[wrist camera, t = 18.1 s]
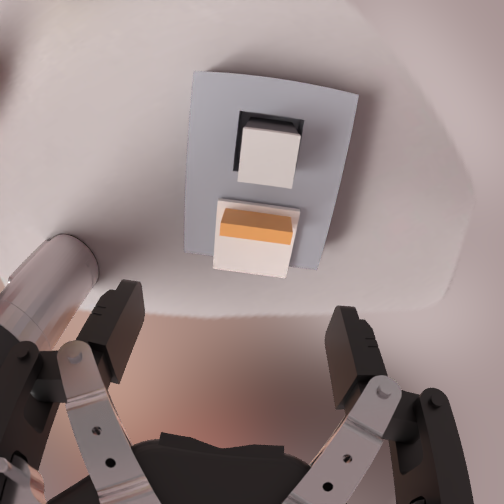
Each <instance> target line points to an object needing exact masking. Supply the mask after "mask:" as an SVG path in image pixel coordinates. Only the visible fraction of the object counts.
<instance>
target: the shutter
mask: <svg viewBox="0 0 504 504" xmlns="http://www.w3.org/2000/svg"><path fill="white" fill-rule="evenodd" d="M299 216H300V209H295V208H289V207H282V206H275V205H268V204H261V203H253V202H246V201H238V200H230V199H222V198H219V199H218V203H217V215H216V229H215V243H214V258H213V269H219V270H226V271H234V272H241V273H249V274H256V275H264V276H272V277H280V278H286V275H287V270H288V266H289V262H290V257H291V253H292V248H293V244H294V239H295V235H296V230H297V225H298V221H299Z"/></svg>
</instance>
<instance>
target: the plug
mask: <svg viewBox="0 0 504 504" xmlns="http://www.w3.org/2000/svg"><path fill="white" fill-rule="evenodd" d="M300 138H301V136H300V134H298V132H297V130H296V128H295V126H294V125H293V123H292V122H287V121H280V120H273V119H266V118H258V117H250V119H249V120H248V122H247V124H246V126H245V127H244V128H243V134H242V143H241V152H240V161H239V171H238V180H237V182H245V183H253V184H260V185H268V186H275V187H282V188H289V189H292V185H293V179H294V174H295V168H296V162H297V156H298V150H299V144H300Z"/></svg>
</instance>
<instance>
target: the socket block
mask: <svg viewBox="0 0 504 504" xmlns="http://www.w3.org/2000/svg"><path fill="white" fill-rule="evenodd" d="M358 97H359V95H357V94H353V93H349V92H345V91H341V90H337V89H332V88H328V87H323V86H318V85H313V84H308V83H302V82H296V81H290V80H284V79H278V78H270V77H263V76H254V75H245V74H235V73H223V72H206V71H194V73H193V83H192V93H191V105H190V117H189V130H188V145H187V163H186V185H185V216H184V252H186V253H193V254H200V255H208V256H214V243H215V229H216V215H217V203H218V199H219V198H222V199H230V200H238V201H246V202H253V203H261V204H268V205H275V206H282V207H289V208H295V209H300V216H299V221H298V225H297V230H296V235H295V239H294V244H293V248H292V253H291V257H290V262H289V266H290V267H298V268H306V269H313V270H317V269H318V266H319V262H320V259H321V255H322V252H323V248H324V245H325V241H326V237H327V234H328V230H329V226H330V222H331V218H332V214H333V211H334V207H335V203H336V199H337V195H338V191H339V186H340V182H341V178H342V174H343V169H344V165H345V161H346V156H347V152H348V147H349V142H350V138H351V133H352V128H353V123H354V118H355V113H356V108H357V103H358ZM250 117H258V118H266V119H273V120H280V121H287V122H292V123H293V125H294V126H295V128H296V130H297V132H298V134H300V136H301V138H300V144H299V150H298V156H297V162H296V168H295V174H294V179H293V185H292V189H289V188H282V187H275V186H268V185H260V184H253V183H245V182H237V180H238V171H239V161H240V152H241V143H242V134H243V128H244V127H245V126H246V124H247V122H248V120H249V119H250Z"/></svg>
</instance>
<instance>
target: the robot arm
mask: <svg viewBox="0 0 504 504" xmlns="http://www.w3.org/2000/svg"><path fill="white" fill-rule="evenodd" d="M98 275H99V270H98V265H97V262H96V259H95V257H94V255H93V254H92V252H91V251H90V250H89V248H88V247H87V246H86V245H85V244H84V243H82V242H81V241H80V240H78V239H77V238H75V237H72V236H70V235H64V234H62V235H57V236H55V237H54V238H52V239H51V240H50V241H46V240H45V241H44V242H43V243H42V244H41V245H40V246H39V247H38V248H37V249H36V250H35V251H34V252H33V253H32V254H31V255H30V256H29V257H28V258H27V259H26V260H25V261H24V262H23V263H22V264H21V265H20V266H19V267H18V268H17V269H16V270H15V271H14V272H13V274H12V275H11V276H10V277H9V279H8V283H9V284H8V285H7V286H6V287H5V288H4V290H3V291H2V292H1V293H0V504H347V501H348V500H349V498H350V496H351V495H352V494H353V492H354V490H355V489H356V488H357V486H358V484H359V483H360V481H361V480H362V478H363V476H364V475H365V473H366V471H367V470H368V468H369V466H370V465H371V463H372V461H373V459H374V457H375V456H376V454H377V452H378V451H379V449H380V447H381V445H382V443H383V439H387V440H389V447H390V453H391V461H392V469H393V477H394V485H395V495H396V504H474V503H473V496H472V491H471V485H470V480H469V475H468V471H467V466H466V462H465V458H464V453H463V449H462V445H461V441H460V437H459V434H458V430H457V427H456V423H455V420H454V417H453V413H452V410H451V407H450V403H449V400H448V398H447V396H446V395H445V394H444V393H443V392H442V391H440V390H439V389H436V388H428V389H425V390H424V391H423V392H422V393H421V394H420V395H418V394H414V393H410V392H406V391H403V390H401V388H400V386H399V385H398V383H397V382H396V381H395V380H394V379H392V378H390V377H388V376H387V372H386V369H385V366H384V363H383V359H382V357H381V353H380V350H379V348H378V344H377V341H376V340H375V335H374V332H373V329H372V328H371V327H370V325H369V324H368V323H367V322H366V321H365V320H361V319H359V317H358V314H357V311H356V308H355V307H350V306H336V308H335V310H334V313H333V315H332V318H331V321H330V323H329V326H328V328H327V331H326V335H325V348H326V354H327V360H328V366H329V372H330V378H331V384H332V390H333V396H334V402H335V409H345V417H344V418H343V420H342V421H341V422H340V424H339V425H338V427H337V428H336V430H335V431H334V432H333V434H332V435H331V437H330V438H329V439H328V441H327V442H326V444H325V445H324V446H323V448H322V449H321V450H320V452H319V453H318V454H317V455H316V456H315V458H314V459H313V460H312V461H311V463H310V464H309V465H308V464H307V463H306V462H304V461H302V460H301V459H299V458H297V457H295V456H292V455H289V454H286V453H284V446H272V445H247V446H240V447H233V448H218V447H215V446H212V445H209V444H207V443H204V442H201V441H199V440H196V439H193V438H191V437H185V436H178V435H173V434H168V433H163V432H161V435H160V439H154V440H147V441H143V442H140V443H138V444H135V445H132V443H131V441H130V439H129V437H128V435H127V433H126V431H125V430H124V427H123V425H122V423H121V420H120V418H119V416H118V414H117V411H116V409H115V407H114V404H113V402H112V400H111V397H110V395H109V392H108V387H109V385H110V382H113V383H116V384H120V381H121V378H122V375H123V373H124V370H125V368H126V365H127V362H128V360H129V357H130V355H131V352H132V349H133V347H134V344H135V342H136V339H137V337H138V335H139V332H140V330H141V327H142V324H143V322H144V316H145V308H144V301H143V293H142V285H141V283H140V282H138V281H131V280H125V279H123V280H122V281H121V282H120V284H119V286H118V287H117V289H116V290H109V291H107V292H106V293H105V294H104V295H102V296H101V297H100V299H99V301H98V302H97V304H96V307H94V309H93V311H92V313H91V314H90V316H89V318H88V319H87V321H86V323H85V324H84V326H83V328H82V330H81V331H80V333H79V335H78V337H77V338H76V340H74V341H70V342H67V343H65V344H64V345H63V346H62V347H61V348H60V349H59V350H58V351H52V350H53V348H54V347H55V345H56V343H57V342H58V340H59V338H60V337H61V335H62V334H63V332H64V330H65V329H66V327H67V326H68V324H69V322H70V321H71V319H72V318H73V316H74V315H75V313H76V311H77V310H78V308H79V307H80V305H81V304H82V302H83V301H84V299H85V298H86V296H87V295H88V293H89V292H90V291H91V289H92V288H93V286H94V285H95V283H96V282H97V279H98ZM60 403H66V410H67V413H68V417H69V420H70V423H71V426H72V430H73V433H74V436H75V438H76V441H77V444H78V447H79V449H80V452H81V455H82V458H83V460H84V462H85V465H86V468H87V470H88V473H89V475H88V476H87V477H85V478H84V479H82V480H81V481H79V482H78V483H76V484H74V485H73V486H71V487H70V488H68V489H66V490H65V491H63V492H62V493H60V494H58V495H57V496H55V497H53V498H52V499H50V500H49V501H48V502H47V501H46V499H45V495H44V492H45V489H44V480H43V478H42V476H41V474H40V473H39V472H38V470H39V466H40V462H41V459H42V455H43V452H44V449H45V445H46V442H47V439H48V436H49V433H50V430H51V427H52V424H53V421H54V418H55V415H56V413H57V410H58V407H59V404H60Z"/></svg>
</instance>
